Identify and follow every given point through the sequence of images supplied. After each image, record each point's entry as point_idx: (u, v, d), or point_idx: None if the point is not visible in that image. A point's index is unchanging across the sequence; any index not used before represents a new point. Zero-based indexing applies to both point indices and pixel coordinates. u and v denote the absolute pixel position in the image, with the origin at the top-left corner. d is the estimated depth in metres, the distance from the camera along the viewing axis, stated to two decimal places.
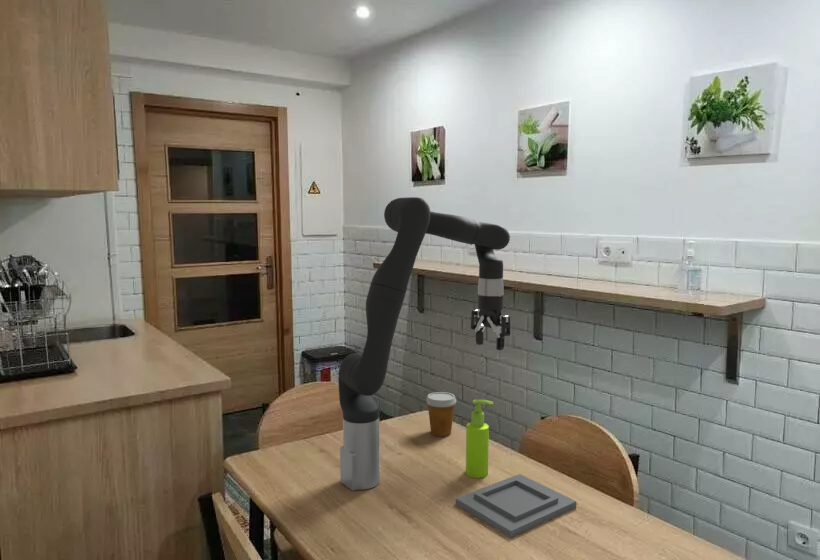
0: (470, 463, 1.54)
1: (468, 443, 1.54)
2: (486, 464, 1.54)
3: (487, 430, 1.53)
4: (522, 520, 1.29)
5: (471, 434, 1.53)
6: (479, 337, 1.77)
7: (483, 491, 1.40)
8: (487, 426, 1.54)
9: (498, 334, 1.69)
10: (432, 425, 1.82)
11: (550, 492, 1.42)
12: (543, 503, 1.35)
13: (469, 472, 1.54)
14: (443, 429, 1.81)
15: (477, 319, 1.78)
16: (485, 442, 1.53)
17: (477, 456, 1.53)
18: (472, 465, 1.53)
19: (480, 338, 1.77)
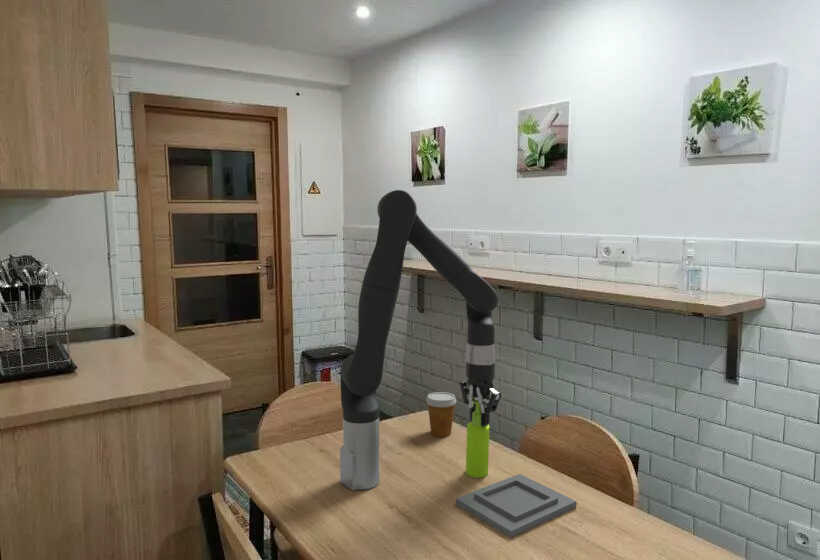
0: (470, 463, 1.54)
1: (468, 443, 1.53)
2: (486, 464, 1.54)
3: (488, 430, 1.53)
4: (522, 520, 1.29)
5: (472, 434, 1.52)
6: None
7: (483, 491, 1.40)
8: (488, 426, 1.54)
9: (482, 409, 1.51)
10: (432, 425, 1.82)
11: (550, 492, 1.42)
12: (543, 503, 1.35)
13: (469, 472, 1.54)
14: (443, 429, 1.81)
15: (469, 391, 1.57)
16: (486, 442, 1.53)
17: (478, 456, 1.52)
18: (473, 465, 1.53)
19: None
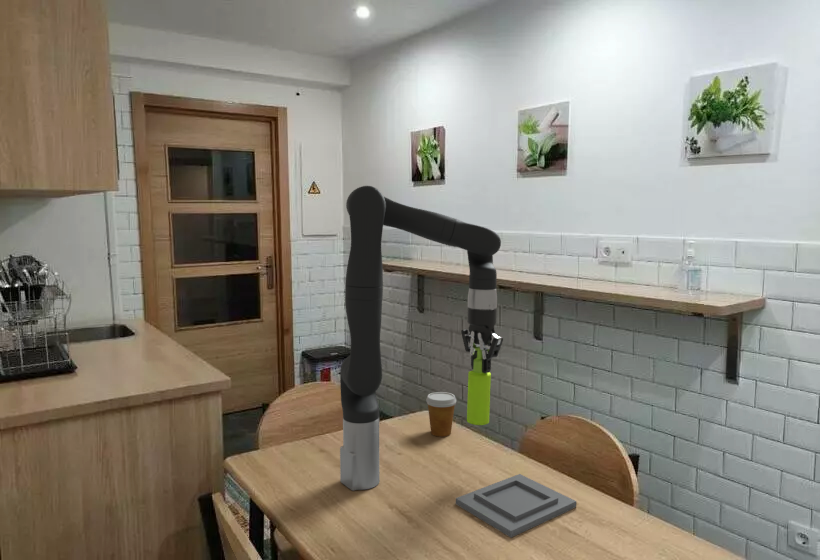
0: (471, 410, 1.52)
1: (470, 390, 1.52)
2: (487, 412, 1.52)
3: (489, 377, 1.51)
4: (522, 520, 1.29)
5: (473, 381, 1.51)
6: None
7: (483, 491, 1.40)
8: (489, 373, 1.52)
9: (484, 355, 1.50)
10: (432, 425, 1.82)
11: (550, 492, 1.42)
12: (543, 503, 1.35)
13: (470, 420, 1.52)
14: (443, 429, 1.81)
15: (470, 339, 1.56)
16: (487, 389, 1.51)
17: (479, 403, 1.51)
18: (474, 412, 1.51)
19: None
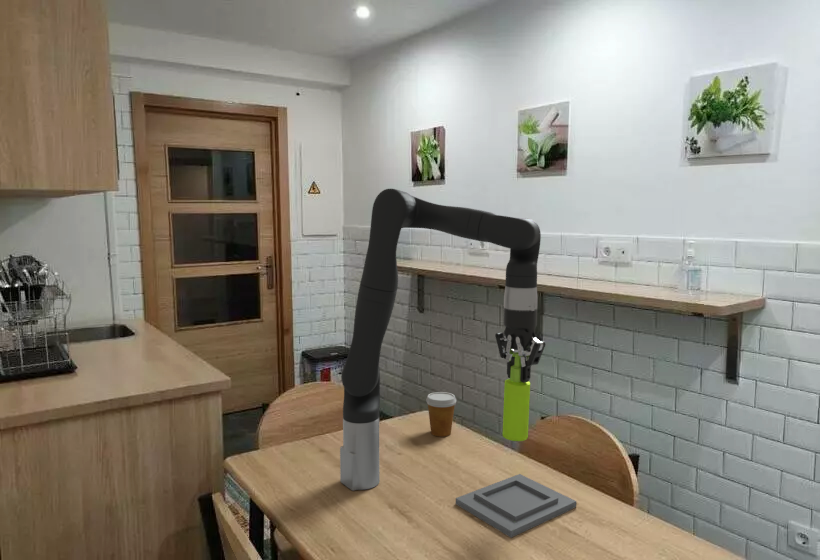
0: (508, 424, 1.34)
1: (506, 402, 1.34)
2: (526, 426, 1.35)
3: (529, 387, 1.34)
4: (522, 520, 1.29)
5: (510, 391, 1.33)
6: None
7: (483, 491, 1.40)
8: (528, 382, 1.34)
9: (523, 362, 1.32)
10: (432, 425, 1.82)
11: (550, 492, 1.42)
12: (543, 503, 1.35)
13: (507, 435, 1.35)
14: (443, 429, 1.81)
15: (505, 344, 1.38)
16: (527, 401, 1.33)
17: (517, 416, 1.33)
18: (511, 427, 1.34)
19: None
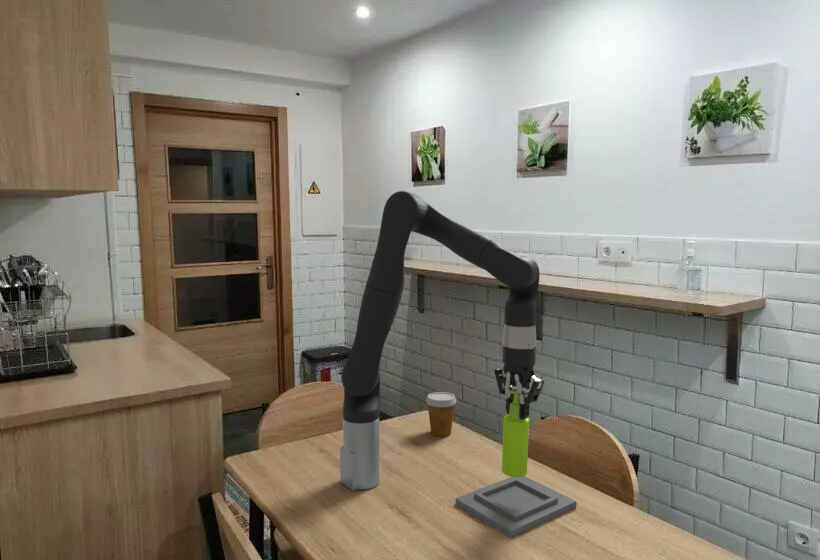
0: (507, 460, 1.35)
1: (506, 438, 1.35)
2: (525, 462, 1.36)
3: (528, 424, 1.35)
4: (522, 520, 1.29)
5: (509, 428, 1.34)
6: None
7: (483, 491, 1.40)
8: (527, 419, 1.35)
9: (522, 399, 1.33)
10: (432, 425, 1.82)
11: (550, 492, 1.42)
12: (543, 503, 1.35)
13: (506, 471, 1.36)
14: (443, 429, 1.81)
15: (504, 379, 1.39)
16: (526, 437, 1.34)
17: (516, 453, 1.34)
18: (510, 463, 1.35)
19: None
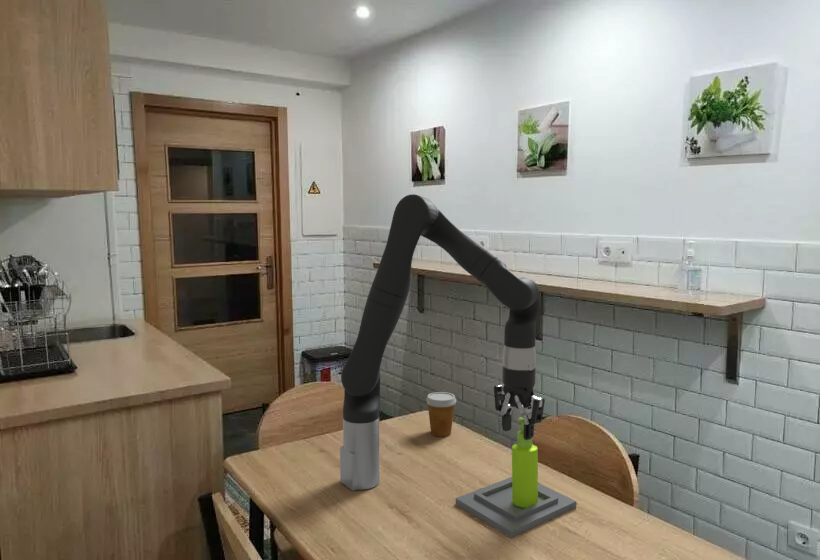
0: (518, 491, 1.34)
1: (515, 468, 1.35)
2: (536, 492, 1.35)
3: (536, 452, 1.35)
4: (522, 520, 1.29)
5: (518, 457, 1.34)
6: (506, 421, 1.39)
7: (483, 491, 1.40)
8: (536, 447, 1.35)
9: (526, 420, 1.32)
10: (432, 425, 1.82)
11: (550, 492, 1.42)
12: (543, 503, 1.35)
13: (517, 501, 1.35)
14: (443, 429, 1.81)
15: (502, 397, 1.40)
16: (535, 466, 1.34)
17: (527, 482, 1.34)
18: (521, 493, 1.34)
19: (508, 423, 1.39)
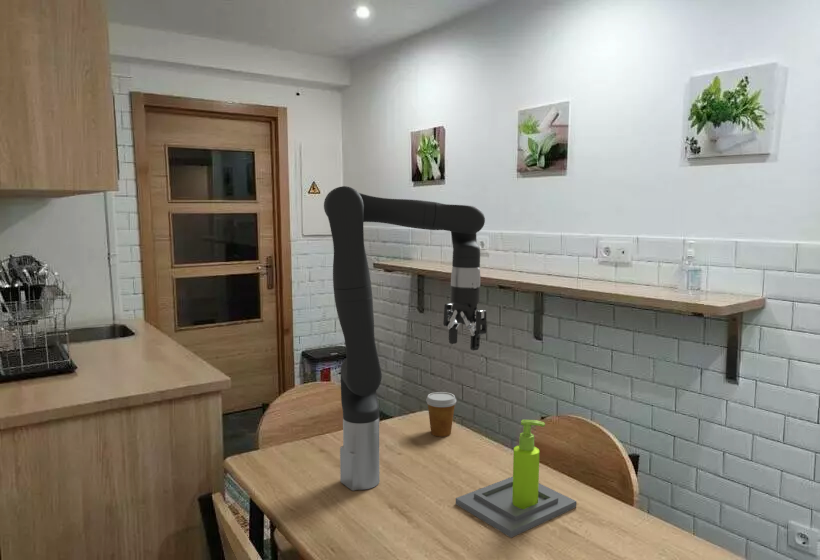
0: (518, 493, 1.34)
1: (516, 470, 1.34)
2: (536, 494, 1.35)
3: (538, 455, 1.34)
4: (522, 520, 1.29)
5: (520, 460, 1.33)
6: (452, 335, 1.54)
7: (483, 491, 1.40)
8: (538, 450, 1.35)
9: (472, 332, 1.46)
10: (432, 425, 1.82)
11: (550, 492, 1.42)
12: (543, 503, 1.35)
13: (517, 503, 1.35)
14: (443, 429, 1.81)
15: (451, 314, 1.55)
16: (536, 469, 1.34)
17: (527, 485, 1.33)
18: (521, 495, 1.34)
19: (454, 336, 1.54)
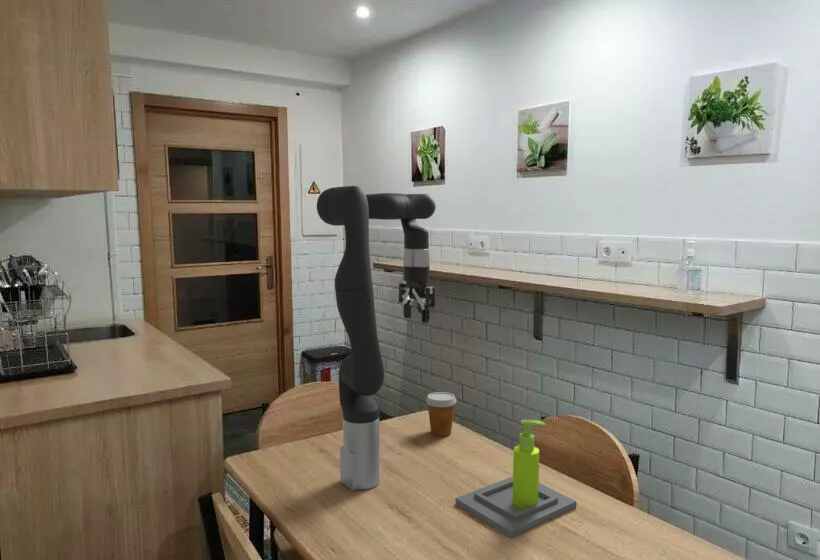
0: (518, 493, 1.34)
1: (516, 470, 1.34)
2: (536, 494, 1.35)
3: (538, 455, 1.34)
4: (522, 520, 1.29)
5: (520, 460, 1.33)
6: (406, 310, 1.72)
7: (483, 491, 1.40)
8: (538, 450, 1.35)
9: (423, 306, 1.64)
10: (432, 425, 1.82)
11: (550, 492, 1.42)
12: (543, 503, 1.35)
13: (517, 503, 1.35)
14: (443, 429, 1.81)
15: (405, 292, 1.73)
16: (536, 469, 1.34)
17: (527, 485, 1.33)
18: (521, 495, 1.34)
19: (408, 311, 1.72)
